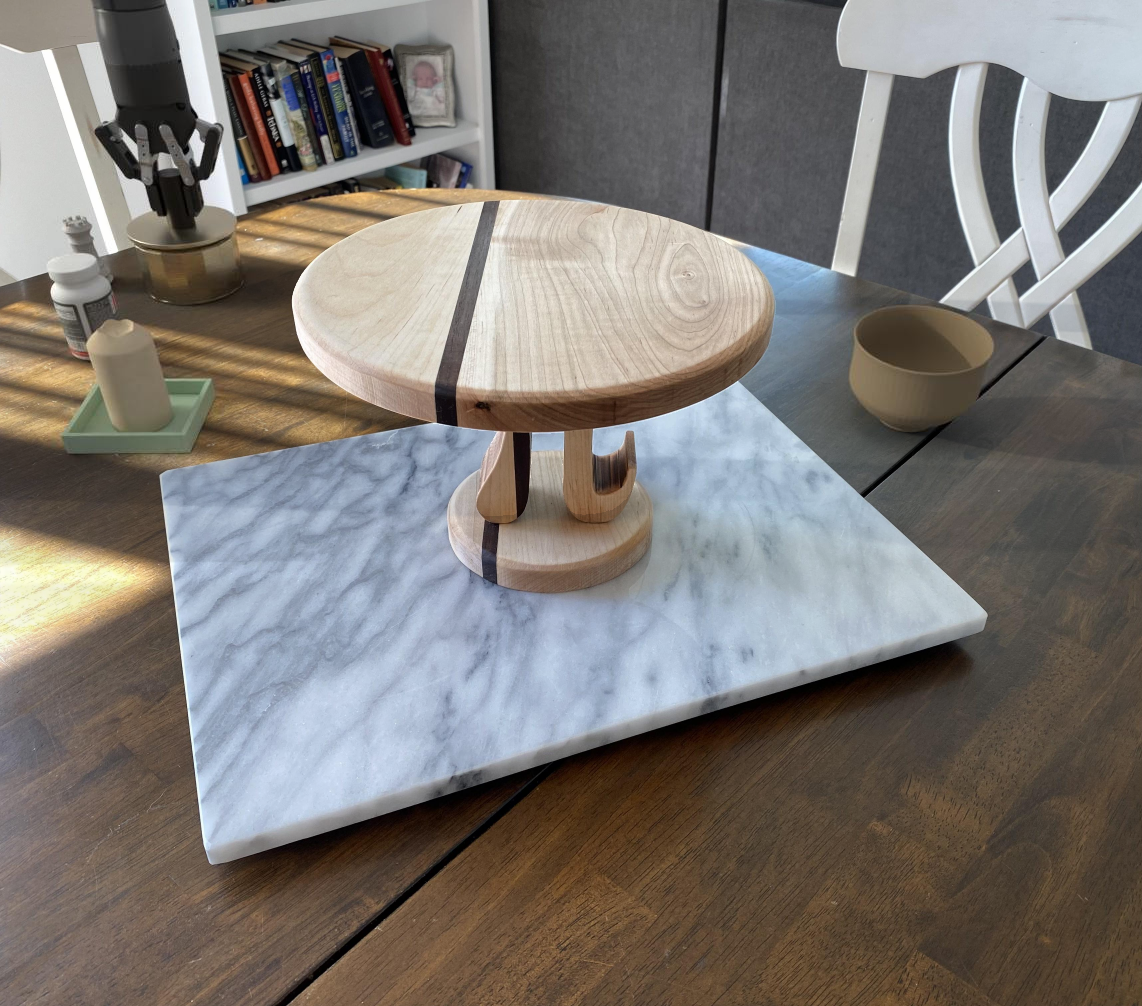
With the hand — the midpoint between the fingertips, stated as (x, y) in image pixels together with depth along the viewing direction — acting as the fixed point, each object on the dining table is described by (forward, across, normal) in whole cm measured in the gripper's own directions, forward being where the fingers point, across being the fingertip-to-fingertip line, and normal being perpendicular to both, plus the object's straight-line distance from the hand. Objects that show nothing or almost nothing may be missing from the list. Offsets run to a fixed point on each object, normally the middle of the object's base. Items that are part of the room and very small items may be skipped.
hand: (179, 213), depth 108 cm
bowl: (+9, +77, -31) cm, 83 cm away
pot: (+9, 0, 0) cm, 9 cm away
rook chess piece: (+9, -12, 0) cm, 15 cm away
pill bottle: (+9, -6, -16) cm, 19 cm away
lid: (+2, 0, 0) cm, 2 cm away
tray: (+9, +3, -30) cm, 32 cm away
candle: (+9, +3, -31) cm, 32 cm away
